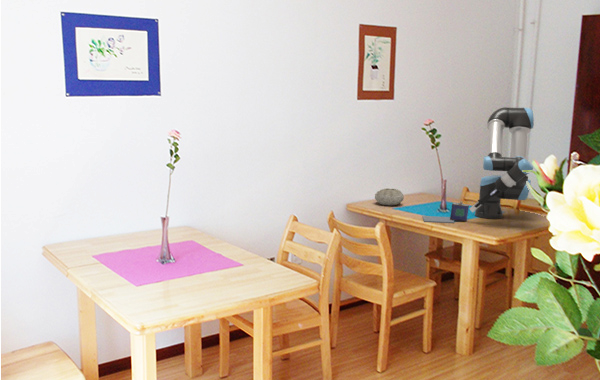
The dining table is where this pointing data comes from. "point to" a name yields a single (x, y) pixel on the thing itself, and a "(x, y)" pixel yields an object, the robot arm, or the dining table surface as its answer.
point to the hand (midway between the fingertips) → (471, 210)
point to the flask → (459, 212)
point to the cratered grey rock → (389, 196)
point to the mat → (437, 219)
